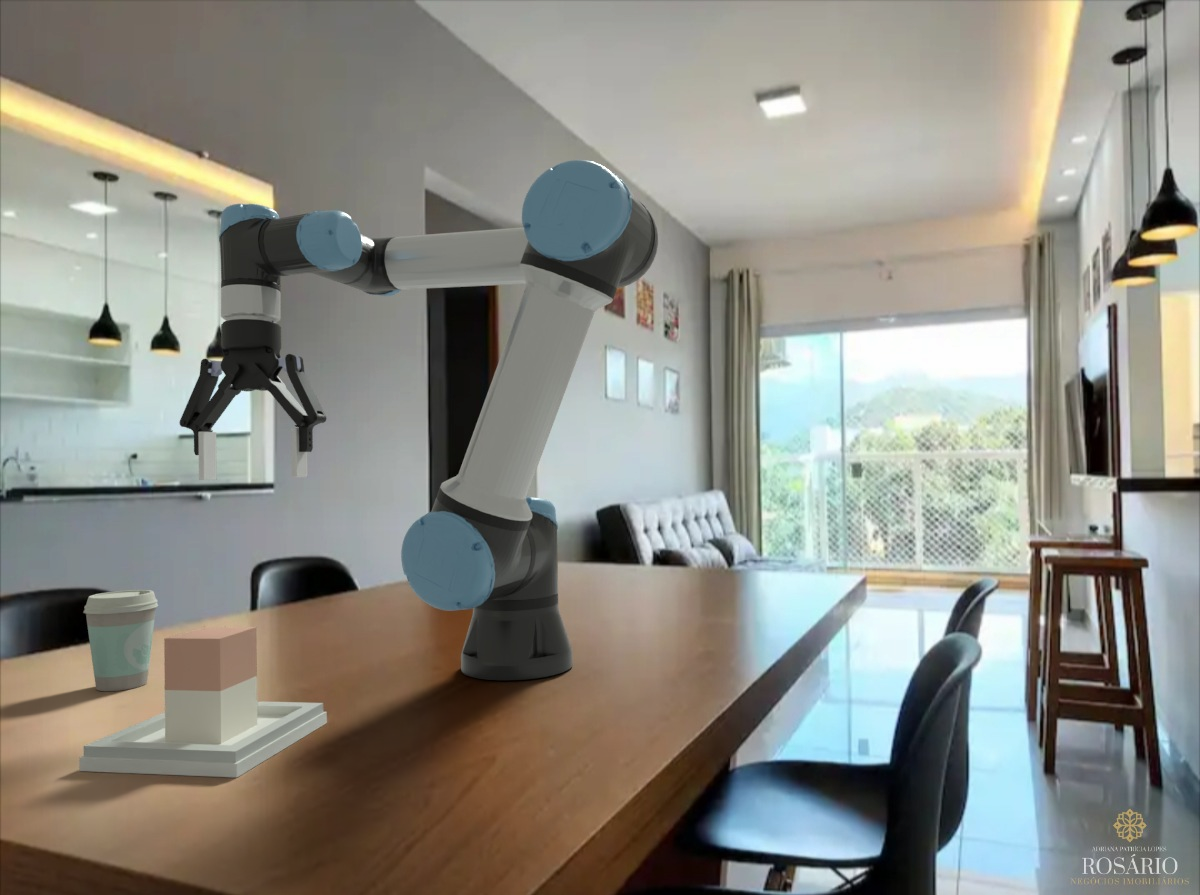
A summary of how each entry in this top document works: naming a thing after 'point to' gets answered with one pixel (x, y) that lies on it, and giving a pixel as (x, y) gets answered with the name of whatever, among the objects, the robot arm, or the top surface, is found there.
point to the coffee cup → (121, 637)
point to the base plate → (203, 745)
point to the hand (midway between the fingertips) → (253, 478)
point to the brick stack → (210, 684)
